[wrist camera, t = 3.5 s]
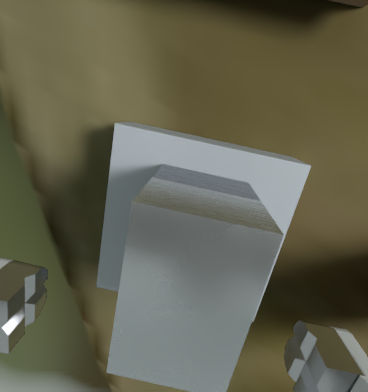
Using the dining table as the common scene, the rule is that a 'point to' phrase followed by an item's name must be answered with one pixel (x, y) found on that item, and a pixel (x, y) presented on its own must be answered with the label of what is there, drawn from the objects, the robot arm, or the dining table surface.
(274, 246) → the block
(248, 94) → the dining table surface
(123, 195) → the grey stand
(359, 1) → the tan flat square slab
